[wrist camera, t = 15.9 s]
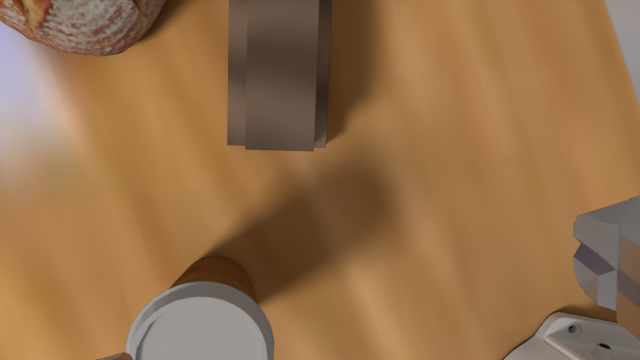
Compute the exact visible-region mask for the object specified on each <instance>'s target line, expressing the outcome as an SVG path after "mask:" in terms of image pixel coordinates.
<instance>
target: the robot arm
mask: <svg viewBox="0 0 640 360" xmlns="http://www.w3.org/2000/svg"><path fill="white" fill-rule="evenodd" d="M573 236H574V237H575V238H576V239H577V240H578V241H579V242H580V243H581V245H580V246H579V248H578V250H577V251H576V253H575V255H574V256H573V259H574V273H575V275H576V278H577V280H578V283H579V285H580V287H581V288H582V289H583V291H584V292H585V293H586V295H587V296H588V297H589V298H590V299H591V300H593V301H594V302H595V303H596V304H597V305H599V306H602V307H606V308H609V309H612V310H615V313H616V320H617V322H618V323H616V322H610V321H605V320H600V319H594V318H589V317H584V316H578V315H573V314H568V313H562V312H557V313H554V314H552V315H551V316H549V317H548V318H547V319H546V321H545V322H544V323H543V324H542V326H541V327H540V328H539V330H538V331H537V333H536V334H535V335H534V336H533V337H532V338H531V339H529V340H528V341H527V342H525V343H524V344H522V345H521V346H519V347H518V348H516V349H515V350H514V351H512V352H511V353H510V354H509V355H508V356H507V357H506V358H505V359H504V360H640V195H639V196H636V197H633V198H630V199H628V200H627V201H623V202H620V203H617V204H614V205H610V206H607V207H604V208H601V209H597V210H594V211H591V212H587V213H584V214H581V215H578V216H577V217H576V220H575V222H574V232H573ZM570 326H572V327H571V329H570V330H568V329H569V327H570ZM97 360H133V358H132V357H131V355H130V354H128V353H125V352H122V353H119V354H115V355H111V356H108V357H104V358H101V359H97Z"/></svg>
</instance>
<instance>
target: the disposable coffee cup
mask: <svg viewBox="0 0 640 360" xmlns="http://www.w3.org/2000/svg"><path fill="white" fill-rule="evenodd" d="M126 353H128V354H130V355H131V357H132V358H133V360H273V358H274V338H273V333H272V329H271V326H270V323H269V321H268V319H267V317H266V316H265V314H264V312H263V310H262V309H261V308H260V307H259V306H258V304H257V301H256V298H255V295H254V292H253V289H252V286H251V283H250V280H249V277H248V275H247V273H246V272H245V270H244V269H243V268H242V267H241V266H240V265H239V264H237V263H236V262H234V261H232V260H230V259H228V258H223V257H208V258H204V259H201V260H199V261H197V262H195V263H193V264H192V265H191V266H190V267H189V268H188V269H187V270H186V271H185V272H184V273H183V274H182V275H181V276H180V277H179V278H178V279H177V280H176V281H175V283H174V284H173V285H172V286H171V287H170V288H169V289H168V290H166V291H164V292H162V293H160V294H159V295H157V296H156V297H155V298H154V299H152V300H151V301H150V302H149V303H148V304H146V305H145V307H144V308H143V309H142V310H141V312H140V313H139V314H138V315H137V317H136V319H135V321H134V322H133V324H132V326H131V328H130V332H129V335H128V338H127V344H126Z"/></svg>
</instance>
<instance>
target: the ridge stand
mask: <svg viewBox="0 0 640 360" xmlns="http://www.w3.org/2000/svg"><path fill="white" fill-rule="evenodd" d="M331 7H332V0H229V53H228V137H227V145H243V146H245V149H249V150H285V151H314V148H326V131H327V106H328V82H329V57H330V32H331Z"/></svg>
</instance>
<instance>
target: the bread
mask: <svg viewBox="0 0 640 360" xmlns="http://www.w3.org/2000/svg"><path fill="white" fill-rule="evenodd" d="M166 1H167V0H0V21H2V22H3V23H4V24H6V25H8V26H9V27H11V28H13V29H15V30H16V31H18V32H20V33H21V34H22V35H24V36H25V37H27V38H28V39H30V40H33V41H36V42H38V43H41V44H44V45H46V46H49V47H51V48H54V49H58V50H61V51H63V52H69V53H75V54H84V55H97V56H109V55H115V54H120V53H122V52H124V51H125V50H127V49H128V48H129V47H130V46H132V45H133V44H134V43H135V42H137V41H138V40H139V39H140V38H141V37H142V36H143V35H144V34H145V33H146V32H147V31H148V30H149V29H150V28H151V26H152V25H153V23H154V22H155V20H156V18H157V17H158V15H159V14H160V12H161V10H162V7H163V6H164V4H165V3H166Z"/></svg>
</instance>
